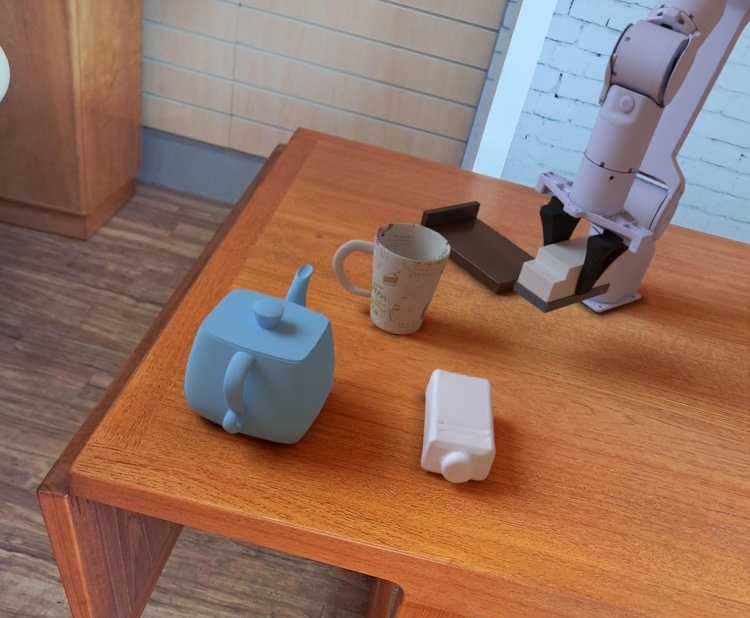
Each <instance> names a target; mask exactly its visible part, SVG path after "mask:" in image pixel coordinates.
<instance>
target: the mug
mask: <svg viewBox="0 0 750 618" xmlns="http://www.w3.org/2000/svg"><path fill="white" fill-rule="evenodd" d="M420 225H421V224H415V223H409V222H391V223H387V224H384V225H382V226H380V227H379V228H378V229H377V230H376V232H375V235H374V240H373V242H371V241H367V240H363V239H351V240H349V241H346V242H345V243H343V244H342V245H341V246H339V248H338V249H337V250H336V252H335V254H334V255H333V260H332V270H333V274H334V277H335V279H336V280H337V282H338V284H340V285H341V286H342V288H343V289H345V290H346V291H347V292H349V293H350V294H352V295H354V296H358V297H363V298H369V299H370V310H369V311H370V312H369V313H370V314H369V315H370V320H371V321H372V323H373V325H375V326H376V327H377V328H379V329H381V331H382V330H383V331H384V332H388V333H390V334H395V335H409V334H413V333H415V332H417V331H418V330H419V329H420V327H422V326H421V325H422V323H423V321H424V319H425V316H426V314H427V311H428V309H429V306H430V304H431V302H432V299H433V297H434V294H435V292H436V289H437V287H438V285H439V282H440V280H441V278H442V276H443V273H444V270H445V268H446V265H447V263H448V261H449V259H450V258H449V255H450V245H449V243H448V242H447V240H446V239H445V238H444V237H443V236H441V235H440V234H438V233H437V232H435V231H433V230H431V229H429V228H426V227H423V226H420ZM354 252H361V253H366V254H369V255H372V257H373V260H372V276H371V277H372V278H371V290H369V289H364V288H362V287H358V286H357V287H356V286H354V285H353V283H351V281H349V278H348V277H347V275H346V273H345V268H344V264H345V261H346V259H347V257H349V256H350V255H351V254H352V253H354Z"/></svg>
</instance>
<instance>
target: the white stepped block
mask: <svg viewBox="0 0 750 618" xmlns="http://www.w3.org/2000/svg"><path fill="white" fill-rule="evenodd" d="M589 236H593V235H592V234H589V235H588V234H586V235H582V236H578V237H574V238H570V239H569V240H566V241H563V242H559V243H555V244H551V245H547V246H543V245H542V246H540V247H539V248H538V250H537V253H536V256H535V257H534V258H535V260H531V261H527V262H524V264H523V267H522V270H521V273H520V276H519V279H518V281H516V283H515V286H514V289H512V291H514V293H515V294H517V295H519V296H520V297H521V298H523V299H524V300H526V302H528V303H529V304H531V305H532V306H533V307H535V308H536V309H538V310H539V311H540V312H542V313H543V314H547V313H550V312H553V311H556V310H559V309H562V308H565V307H568V306H571V305H575V304H577V303H580V302H581V301H584V300H587V299H590V298H593V297H596V296H599V295H602V294H605V293H607V291H608V289H609V286H610V284H609V280H610V278H611V276H612V274H613V271H614V269H615V267H616V264H617V262H618V260H619V257H618V258H617V259H616V260H615V261H614V262H613V263H612V264H611V265H610V266H609V267H608V268H607V269H606V271H605V272H604V273H603V274H602V275H601V277H600V278H599V279H598V280H597V282H596V283H595V285H594V286H593V288H592V289H591V291H590V292H589V293H586V294H583V295H580V296H579V295H577V294H575V288H576V284H577V281H578V278H579V275H580V273H581V270H582V268H583V264H584V261H585V256H586V250H587V240H588V237H589ZM581 303H582V302H581Z"/></svg>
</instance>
